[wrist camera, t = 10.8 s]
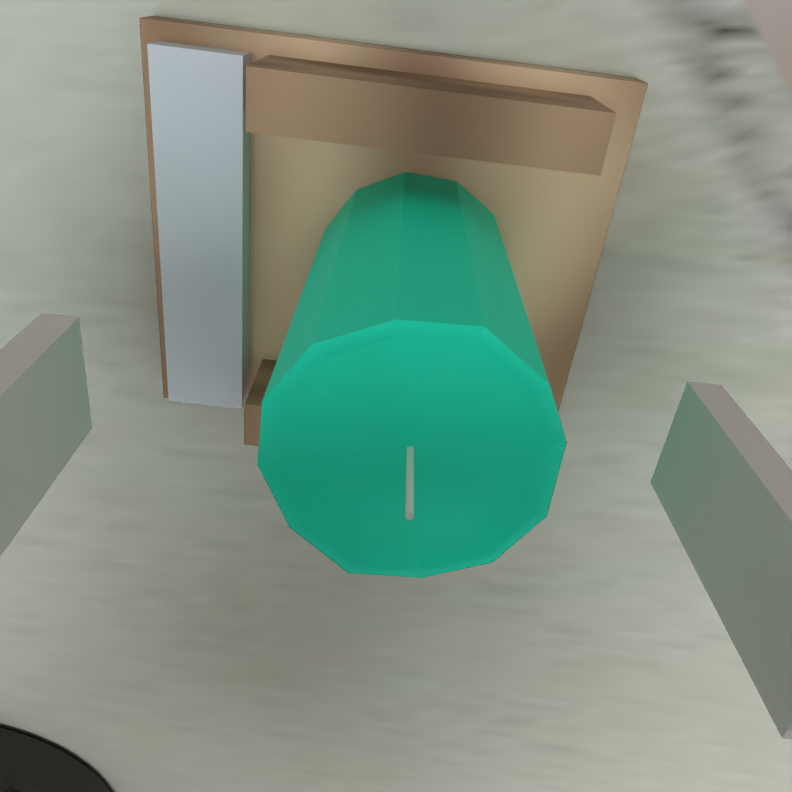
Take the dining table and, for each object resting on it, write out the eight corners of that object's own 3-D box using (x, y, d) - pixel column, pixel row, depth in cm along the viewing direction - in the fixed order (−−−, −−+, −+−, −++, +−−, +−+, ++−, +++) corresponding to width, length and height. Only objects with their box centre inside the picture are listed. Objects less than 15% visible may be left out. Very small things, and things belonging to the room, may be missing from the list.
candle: (453, 377, 24) (481, 671, 14) (291, 309, 23) (191, 574, 13) (543, 223, 21) (660, 449, 11) (363, 136, 20) (309, 299, 10)
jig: (173, 380, 26) (134, 445, 22) (153, 16, 20) (95, 23, 16) (545, 422, 27) (565, 491, 23) (636, 78, 20) (683, 99, 17)
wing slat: (177, 386, 25) (168, 401, 24) (159, 40, 19) (146, 43, 18) (247, 394, 25) (242, 409, 24) (250, 52, 19) (242, 55, 18)
